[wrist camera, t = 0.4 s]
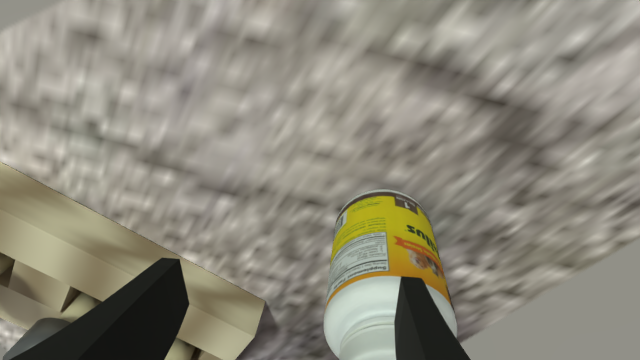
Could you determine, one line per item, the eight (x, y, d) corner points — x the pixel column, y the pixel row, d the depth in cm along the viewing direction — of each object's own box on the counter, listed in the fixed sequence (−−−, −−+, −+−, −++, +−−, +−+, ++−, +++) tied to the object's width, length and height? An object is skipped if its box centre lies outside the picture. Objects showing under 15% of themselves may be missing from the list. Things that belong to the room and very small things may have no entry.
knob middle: (127, 297, 25) (74, 370, 20) (112, 326, 26) (59, 400, 22) (75, 272, 24) (8, 341, 19) (63, 303, 26) (-2, 374, 21)
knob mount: (265, 301, 27) (254, 337, 24) (209, 369, 31) (195, 405, 29) (-16, 153, 23) (-65, 176, 20) (-33, 254, 28) (-75, 283, 25)
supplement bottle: (441, 245, 23) (491, 420, 14) (357, 269, 24) (352, 440, 15) (410, 170, 21) (446, 319, 12) (320, 202, 22) (290, 355, 13)
